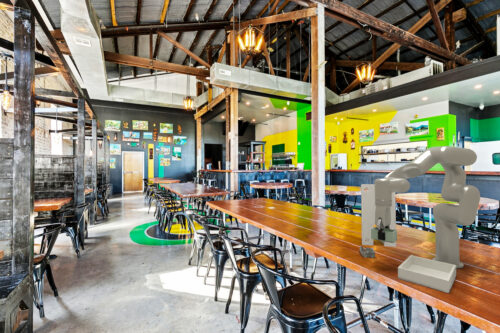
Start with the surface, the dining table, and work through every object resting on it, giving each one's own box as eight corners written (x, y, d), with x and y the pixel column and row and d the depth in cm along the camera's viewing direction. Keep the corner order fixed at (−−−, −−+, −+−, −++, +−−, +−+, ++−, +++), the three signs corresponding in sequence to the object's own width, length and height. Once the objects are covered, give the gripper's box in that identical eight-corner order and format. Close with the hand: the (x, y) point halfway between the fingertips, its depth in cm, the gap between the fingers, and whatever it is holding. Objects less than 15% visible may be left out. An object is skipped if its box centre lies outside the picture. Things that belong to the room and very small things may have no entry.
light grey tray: (410, 264, 123) (410, 255, 123) (456, 275, 110) (456, 265, 110) (398, 278, 108) (397, 267, 108) (448, 293, 95) (448, 280, 95)
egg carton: (358, 251, 144) (358, 244, 144) (372, 252, 142) (372, 245, 142) (361, 257, 134) (361, 250, 134) (376, 259, 132) (376, 251, 132)
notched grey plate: (388, 240, 165) (387, 183, 165) (396, 246, 151) (395, 184, 151) (357, 238, 169) (356, 182, 170) (362, 244, 155) (361, 184, 156)
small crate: (375, 236, 125) (375, 226, 125) (397, 240, 118) (397, 230, 118) (371, 238, 120) (370, 229, 120) (393, 243, 113) (392, 232, 113)
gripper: (381, 200, 128) (381, 233, 128) (368, 204, 116) (369, 240, 116) (396, 201, 122) (397, 236, 122) (385, 205, 110) (386, 244, 110)
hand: (384, 238), depth 119 cm, fingers closed on small crate, 6 cm apart
